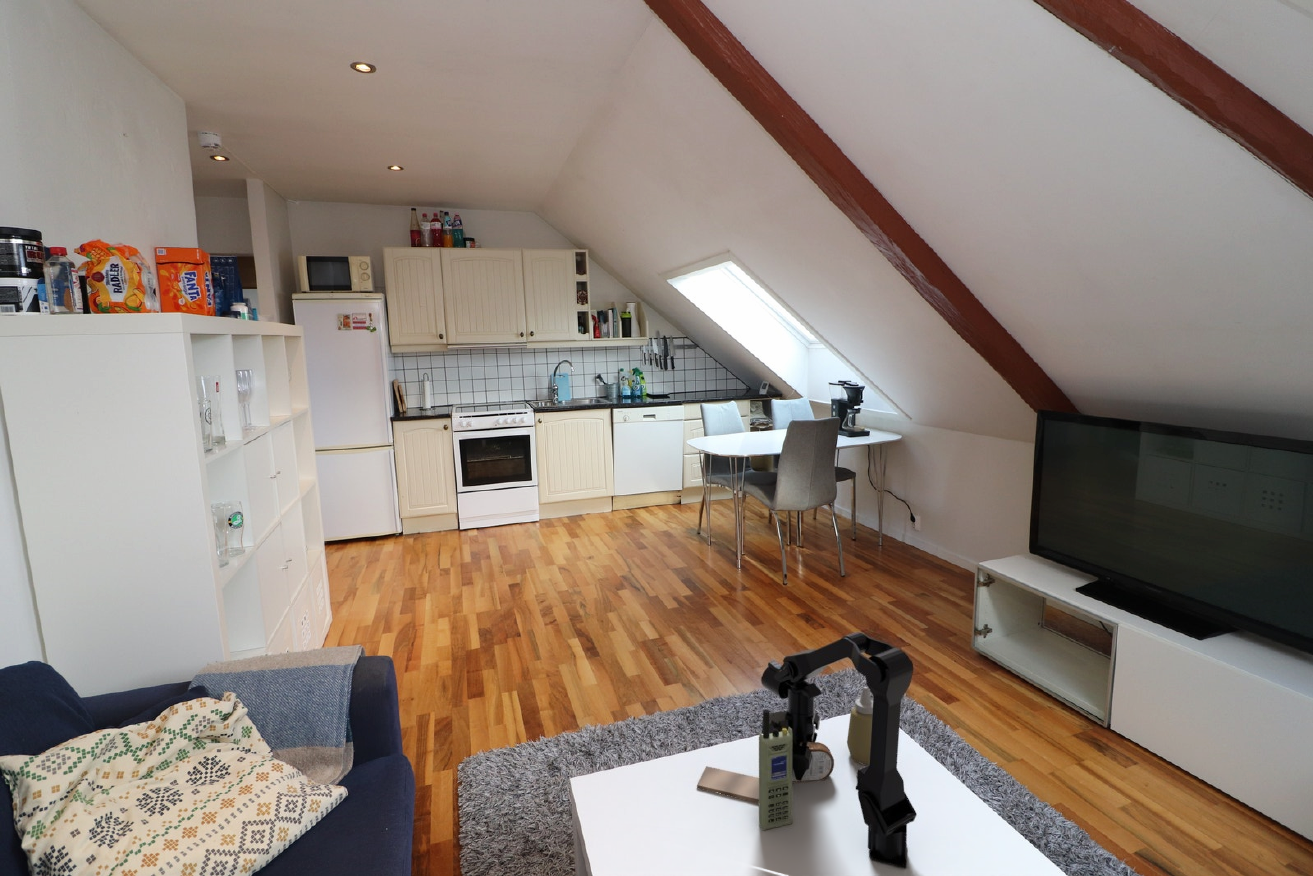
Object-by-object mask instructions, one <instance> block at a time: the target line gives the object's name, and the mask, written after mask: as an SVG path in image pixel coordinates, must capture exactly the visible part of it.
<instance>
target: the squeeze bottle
mask: <svg viewBox="0 0 1313 876" xmlns="http://www.w3.org/2000/svg"><path fill="white" fill-rule="evenodd" d="M870 693H871V692H870V689H869V688H868V686H863V688H862V691H861V695H860V697H859V698H857V699H855V701H854V707H852V709H851V710H850V716H849V722H848V723H849V724H848V732H847V740H846V743H847V748H848V751H849V754H850V757H851V758H852V759H853V761H855V762H857V763H858V764H861V765H866V766H867V765H869V762H870V745H871V728H872V711H873V699H872V698H871V695H870Z"/></svg>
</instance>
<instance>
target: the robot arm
mask: <svg viewBox="0 0 1313 876" xmlns="http://www.w3.org/2000/svg"><path fill="white" fill-rule="evenodd" d="M864 654H866V655H867V656H870V657H867V656H866V655H864ZM847 658H848V659H849V660H850V661H851V662H852V664H853V666H854V669H855V670H856V672H859V674H861V675H863V677H865V683H866V687H868V689H869V692H870V693H871V694H872V700H873V711H872V728H871V745H870V762H869V765H866V766H863V767H861V768H859V769H857V771H856V779H857V782H856V786H855V790H856V791H857V798H858V801H859V805H860V809H861V814H862V817H863V821H864V824H865V825H866V826H868V827H867V850H870V851H869V858H870V860H872V861H876V862H880V863H884V864H886V865H887V864H888V865H891V866H895V867H899V868H904V869H906V868H907V867H908V863H907V862H908V853H907V852H908V850H907V849H908V846H907V845H908V844H907V843H908V842H907V838H908V837H907V836H908V833H907V832H908V825H909V824H910V823H913V822H914V821H915V819H916V818H917V812H916V810H915V808H914V806H913V804H912V802H911V801H910V799H909V797H908V796H907V793H906V791H905V784H904V779H903V777H902V775H901V773H900V772H899V771H898V768H897V766H898V752H899V739H900V738H899V736H900V723H901V705H902V700H903V698H904V696H905V694H906V693H907V691H908V689H909V687H910V686H911V681H912V679H913V678H912V677H913V673H914V664H913V661H912V660H911V658H910V657H909V656H908V654H907V653H906V652H905V651H904V650H902V649H900V648H897V647H895V646H894V645H892V644H890V642H889V643H888V642H885V641H883V640H878V639H876V638H873V637H870V636H868V635H867V634H866V633H864V632H860V631H855V632H852V633H849V634H846V635H844V636H841V638H840V639H838V640H836V641H833V642H831V643H828V644H826V645H824V646H821V647H820V648H817V649H816V648H811V649H804V650H802V651H799V652H795V653H793V654H790V655H787V656H785V657H784V658H783V659H782V662H783V664H780V663H779V661H777V660H771V661H769V662H768V663H767V667H766V668H765V669H764V671H763V673H762V676H761V678H760V681H761V684H762V686H763V688H765V689H767V690H768V691H769V692H771V693H773V694H774V695H776V696H777V697H778V698H780V699H783V700H785V699H787V708H786V710H787V711H785V710H784V711H775V712H769V734H771V733H773V730H774V729H778V731H779V732H782V729H783V728H786V729H787V730H788V728H789V727H790V728H791V729H792V767H793V770H794V774H795V777H796V780H800V781H801V780H802V778H803V776H804V774H805V772H806V770H808V769H809V767H810V763H811V759H812V754H811V751H810V750H809V747H808V746H807V744H808V742H817V737H818V732H816V731H819V729H820V724H821V723H820V719H821V717H820V715H818V713H817V712H816V708H815V698H816V697H818V696H821V695H822V691H821V689H820V688H819V687H818V686H817V685H816V683H815V682H812V683H811V682H809V681H807V680H809V679H811V678H814V677H817V676H819V675H820V673H822V672H823V671H824V670H825V668H826V667H828V666H830V665H832V664H834V663H837V662H839V661H842V660H845V659H847ZM760 723H761V729H762V730H761V734H763V732H764V730H763V719H761V722H760ZM802 742H803V743H802ZM801 745H802V746H801Z"/></svg>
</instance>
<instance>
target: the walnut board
mask: <svg viewBox="0 0 1313 876" xmlns="http://www.w3.org/2000/svg"><path fill="white" fill-rule="evenodd" d="M698 788H699V789H700V790H702V789H704V790H703V791H706V790H708V791H707V792H711V793H715V792H718V793H717V794H719V793H721V794H720V795H724V796H727V795H728V796H727V797H731V796H732V798H735V797H736V799H739V798H741V799H740V800H743V799H744V801H748V802H751V801H752V803H754V804H755V803H756V804H759V777H757V776H753V775H748V774H744V773H740V772H739V773H738V772H734V771H729V770H726V769H720V768H716V767H712V766H708V765H707V766H705V768H704V770H703V772H702V774H701V776H700V778H699V780H698V782H697V784H696V789H698Z"/></svg>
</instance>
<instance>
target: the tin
mask: <svg viewBox="0 0 1313 876" xmlns="http://www.w3.org/2000/svg"><path fill="white" fill-rule="evenodd" d="M802 743H803V742H802ZM801 746H802V745H801ZM807 746H808V747H809V750H810V751H811V754H812V759H811V763H810V767H809V769H808V770H806V772H805V774H804V776H803V778H802V780H801V781H800V780H796V777H795V774H794V770H793V767H792V784H793V783H808V782H818V781H825V780H826V779H828V778H829V777H830V775H832V773H833V770H834V768H835V759H834V756H833V754H832V753H831V751H830V750H831V749H830V748H829V747H828V746H827V745H826V744H824V743H822V742H819V741H815V742H808V744H807Z"/></svg>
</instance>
